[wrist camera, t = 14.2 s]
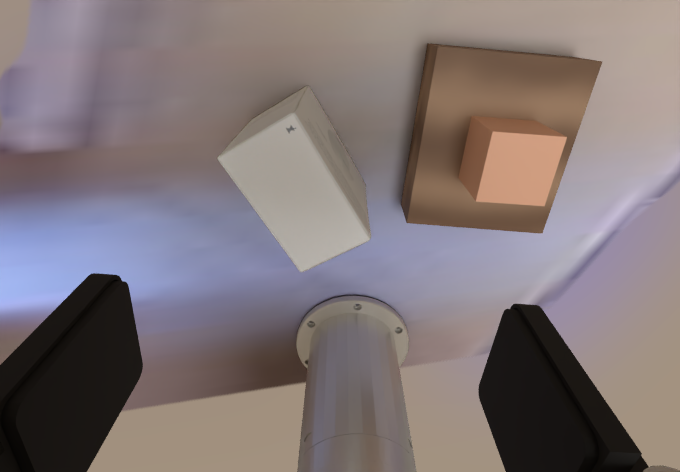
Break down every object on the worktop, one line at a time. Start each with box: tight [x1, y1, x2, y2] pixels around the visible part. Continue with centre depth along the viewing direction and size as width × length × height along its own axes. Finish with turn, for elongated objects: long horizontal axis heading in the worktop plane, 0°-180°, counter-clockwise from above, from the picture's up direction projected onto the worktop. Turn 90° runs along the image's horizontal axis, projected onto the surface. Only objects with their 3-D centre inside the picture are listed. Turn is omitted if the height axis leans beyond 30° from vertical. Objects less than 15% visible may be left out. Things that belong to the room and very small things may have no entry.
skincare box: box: [217, 86, 371, 272], centre depth 33 cm, size 10×6×10 cm, turn 30°
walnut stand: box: [401, 44, 602, 233], centre depth 35 cm, size 14×12×4 cm
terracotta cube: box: [458, 116, 567, 206], centre depth 31 cm, size 5×5×5 cm
